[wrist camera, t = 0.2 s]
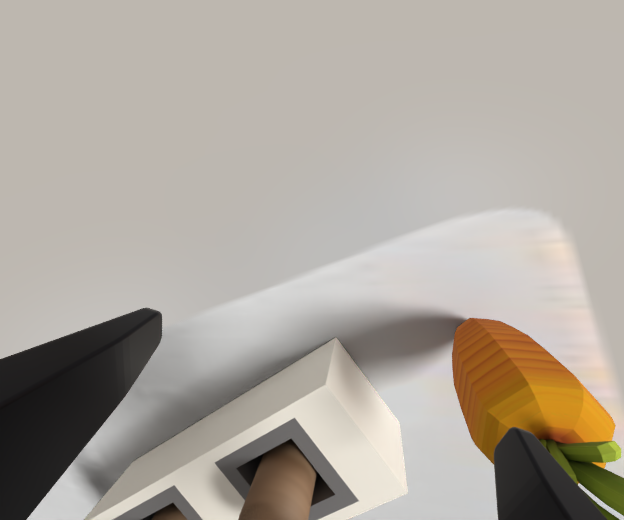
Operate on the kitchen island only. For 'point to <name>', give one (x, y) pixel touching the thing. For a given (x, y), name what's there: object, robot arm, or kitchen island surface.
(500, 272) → the kitchen island surface
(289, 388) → the white peg holder block
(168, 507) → the peg far
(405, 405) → the kitchen island surface
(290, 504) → the peg near
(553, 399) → the carrot
